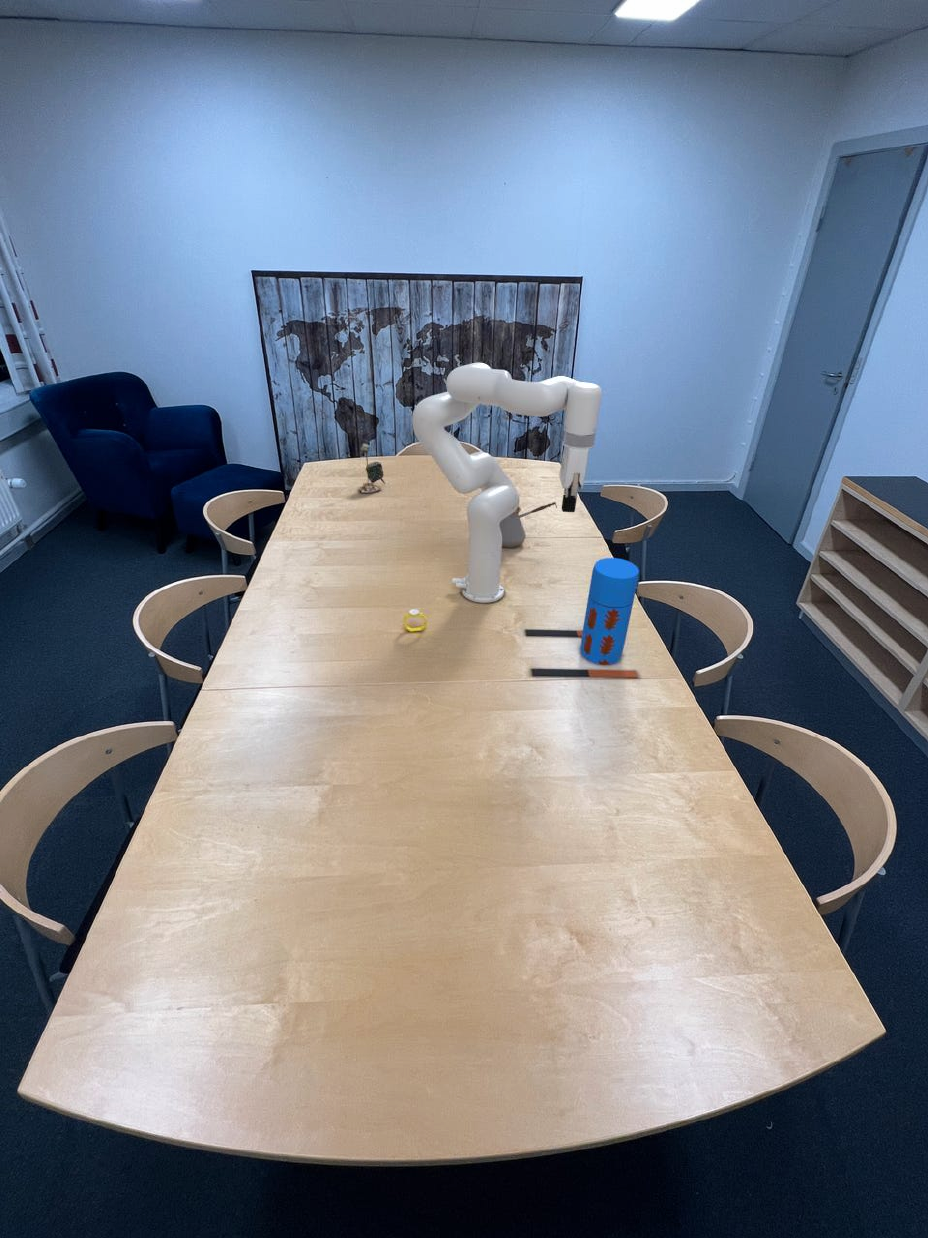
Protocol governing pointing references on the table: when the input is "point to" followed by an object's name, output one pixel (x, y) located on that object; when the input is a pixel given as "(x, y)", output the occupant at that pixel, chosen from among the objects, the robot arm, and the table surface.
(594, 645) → the thermos
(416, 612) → the gold ring
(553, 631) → the lane
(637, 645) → the table surface
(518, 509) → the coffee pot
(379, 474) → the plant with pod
